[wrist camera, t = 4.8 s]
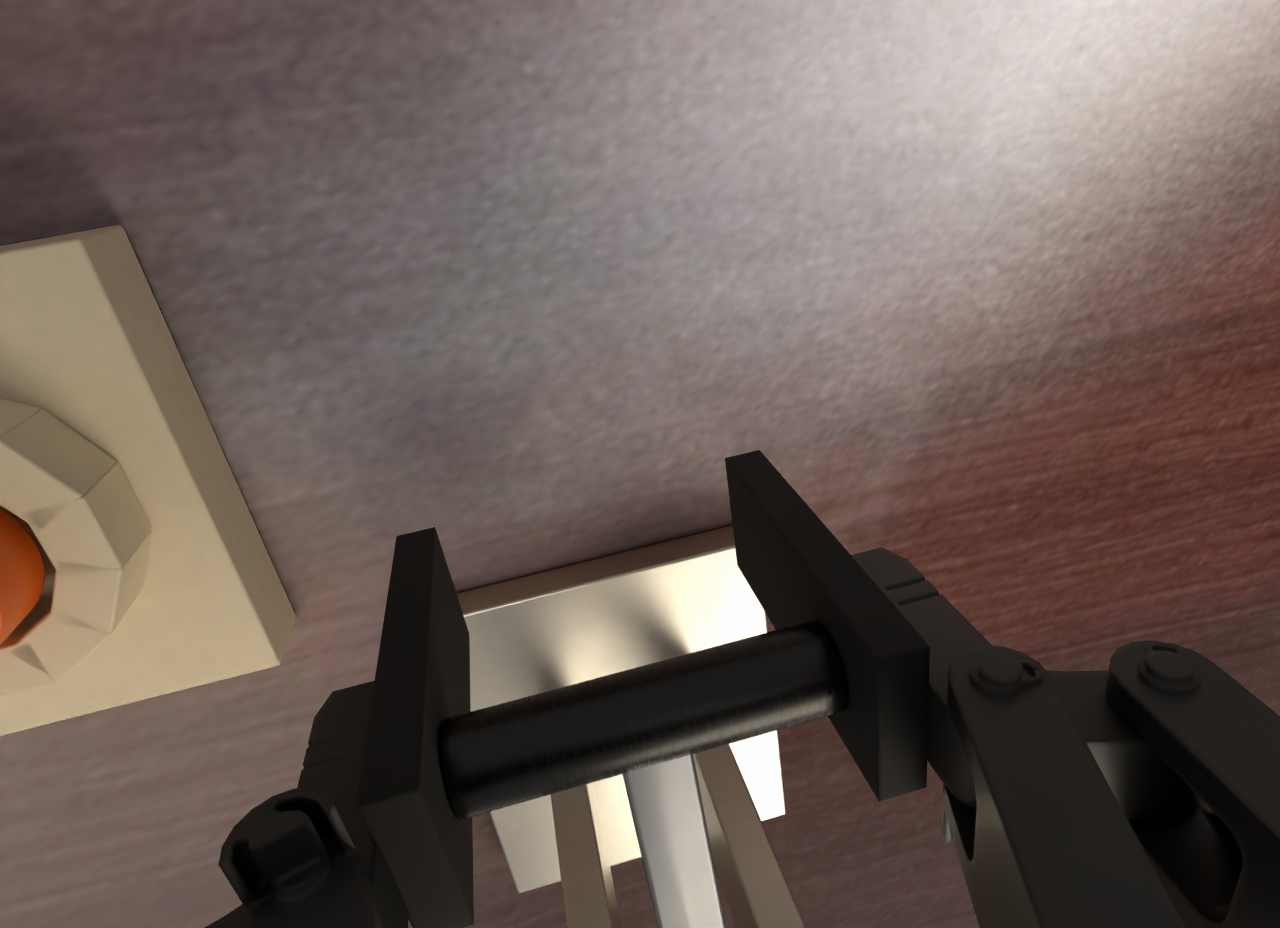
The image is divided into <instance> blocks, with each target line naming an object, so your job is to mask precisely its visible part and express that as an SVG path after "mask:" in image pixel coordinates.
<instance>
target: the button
mask: <svg viewBox="0 0 1280 928" xmlns="http://www.w3.org/2000/svg"><path fill="white" fill-rule="evenodd" d="M44 577H45V570H44V563H43V559H42V556H41V553H40V551H39V549H38V547H37V545H36V543H35V541H34V540H33V538H32V537H31V536H30V534H29V533H28V532H27V531H26V529H25V528H24V527H23V526H22V525H21V524H20V523H19V522H18V521H17V520H15V519H14V518H13V517H12V516H11V515H9V514H8V513H6V512H5V511H4V510H2V509H1V508H0V645H1V644H2V643H3V642H4V641H5V640H6V638H7V637H8V636H9V635H10V634H11V633H12V632H13V631H14V629H15V628H16V627H17V626H18V625H19V624H20V623H21V621H22V620H23V619H24V618H25V617H26V616H27V615H28V613H29V612H30V611H31V610H32V609H33V608H34V606H35V605H36V603H37V602H38V600H39V598H40V596H41V593H42V591H43V586H44Z"/></svg>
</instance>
